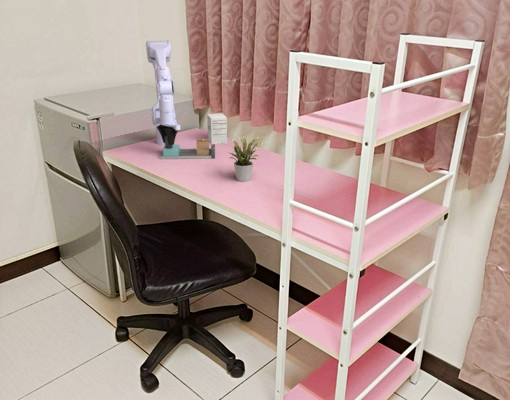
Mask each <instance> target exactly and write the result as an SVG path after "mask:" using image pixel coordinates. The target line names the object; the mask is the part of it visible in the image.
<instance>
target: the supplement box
mask: <svg viewBox="0 0 510 400" xmlns="http://www.w3.org/2000/svg"><path fill="white" fill-rule="evenodd" d="M206 116H207V117H206V118H207V139H209V143H210V144H215V145H216V144H220V145H219V146H224V144H227V145H228V118H227V116H226V115H225V114H224V113H222V112H220V113H208V114H206Z"/></svg>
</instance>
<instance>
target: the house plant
mask: <svg viewBox="0 0 510 400" xmlns="http://www.w3.org/2000/svg"><path fill="white" fill-rule="evenodd" d="M259 138H261V137H259V136H258V137H256V138H253V140H252V141H251V142H249V143H248V144H247V139H246V137H245V136H244V135H242V138H240V137H238V139H239V140H240V142H241V146H242V148H241V146H239V144H238V142H237V141H236V140H235V139H233V138H231V140H232V142H233V144H234V147H233V146H231V145H230V147H232V148H233V151H234V152H229V154H231V155H232V156H229V157H228V159H232V160H235V161H233V166H234V171H235V177H236V180H237V181H238V182H249V181H250V180H251V179H252V178H251V177H252V173H253V167H254V162H253V161H252V160H257V158H258V159H259V158H260V157H259V155H258V154H254V153H255V152H256V151H257V150H258V148H256V147H257V146H259V145H264V142H263V143H261V142H260V141H259V142H257V143H255V142H256V141H257V140H258V139H259ZM254 143H255V144H254ZM253 154H254V155H253ZM256 157H257V158H256ZM257 161H258V160H257Z"/></svg>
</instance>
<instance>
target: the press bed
mask: <svg viewBox="0 0 510 400" xmlns="http://www.w3.org/2000/svg"><path fill="white" fill-rule="evenodd" d="M210 144H211V143H210ZM163 149H164V148H162V151H161V155H160V156H159V160H201V159H202V160H209V159H210V160H211V159H213V160H214V159H215V160H216V144H211V146H210V148H209V156H197V148H180V153H179V156H163Z"/></svg>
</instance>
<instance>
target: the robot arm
mask: <svg viewBox="0 0 510 400" xmlns="http://www.w3.org/2000/svg"><path fill="white" fill-rule="evenodd" d="M145 46H146V49H145V50H146V56H147V61H148V63H150V64H152V66H153V69H154V78H155V90H156V98H157V99H156V101H157V102H156V103H155V104H154V105H153V106H152V107H151V120H152V124H153V125H154V126H155V131H156V133H155V134H156V143H157V145H161V146H165V135H167V137H168V143H169V145H175V142H176V136H177V134H178V132H179V130H181V124H179V123H178V122H177V119H176V116H177V115H176V110H175V106H174V105H175V104H174V95H175V83H174V79H173V78H172V75H171V69H170V67H168V66H167V63H169V62H170V61H171V53H172V50H171V49H172V47H171V42H170V41H169V40H147V41H146V42H145Z"/></svg>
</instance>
